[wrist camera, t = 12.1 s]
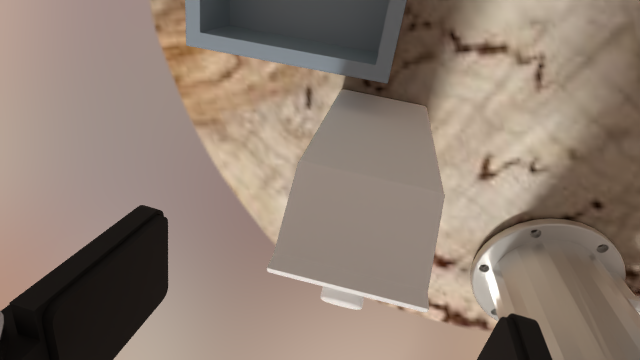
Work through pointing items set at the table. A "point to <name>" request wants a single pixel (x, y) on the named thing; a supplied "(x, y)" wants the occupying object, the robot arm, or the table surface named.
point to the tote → (302, 32)
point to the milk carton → (365, 205)
